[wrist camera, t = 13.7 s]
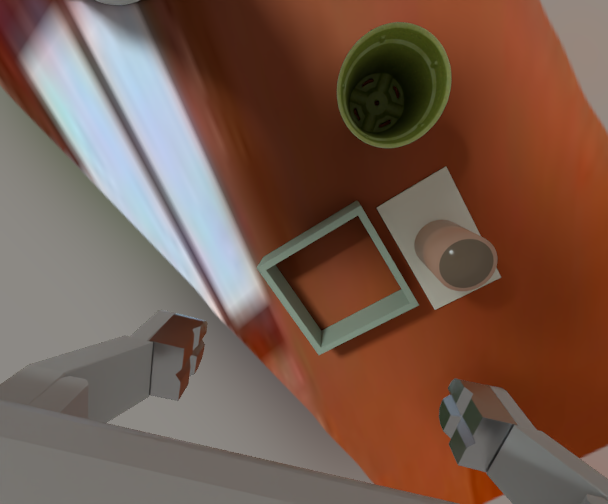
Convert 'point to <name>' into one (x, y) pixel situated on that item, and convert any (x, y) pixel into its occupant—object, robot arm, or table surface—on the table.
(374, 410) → the table surface
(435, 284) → the mat
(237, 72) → the table surface
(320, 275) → the table surface
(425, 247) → the seedling pot
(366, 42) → the plant pot
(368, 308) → the frame
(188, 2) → the table surface
